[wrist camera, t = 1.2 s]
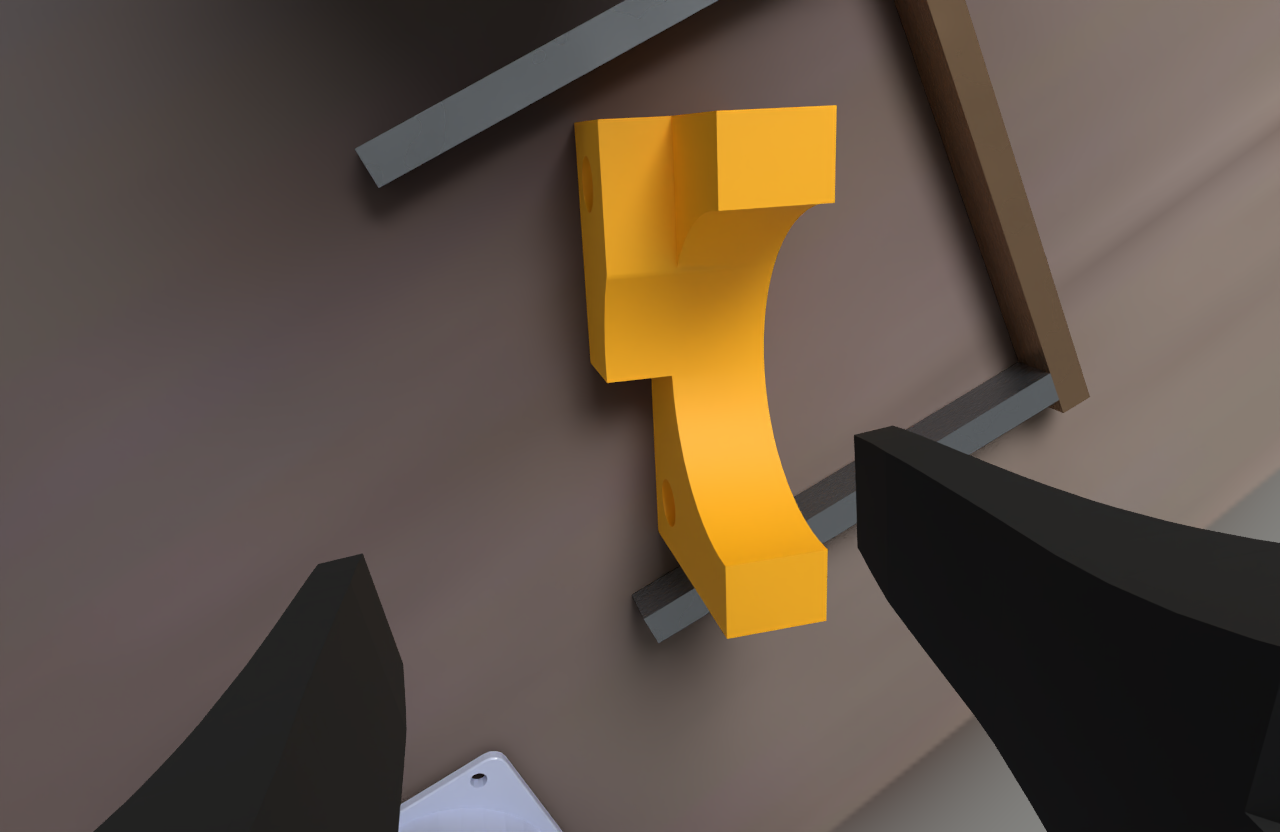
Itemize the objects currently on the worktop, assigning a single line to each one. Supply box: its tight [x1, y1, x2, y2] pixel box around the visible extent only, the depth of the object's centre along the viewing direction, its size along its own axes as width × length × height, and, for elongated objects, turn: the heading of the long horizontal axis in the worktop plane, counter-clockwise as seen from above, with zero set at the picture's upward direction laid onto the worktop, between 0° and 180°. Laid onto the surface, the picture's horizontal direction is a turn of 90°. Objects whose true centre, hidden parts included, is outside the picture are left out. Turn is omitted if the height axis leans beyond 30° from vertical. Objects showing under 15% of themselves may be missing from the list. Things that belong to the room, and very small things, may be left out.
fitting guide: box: [355, 0, 1090, 643], centre depth 24 cm, size 16×17×2 cm
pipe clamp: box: [574, 105, 837, 639], centre depth 22 cm, size 12×4×6 cm, turn 3°
